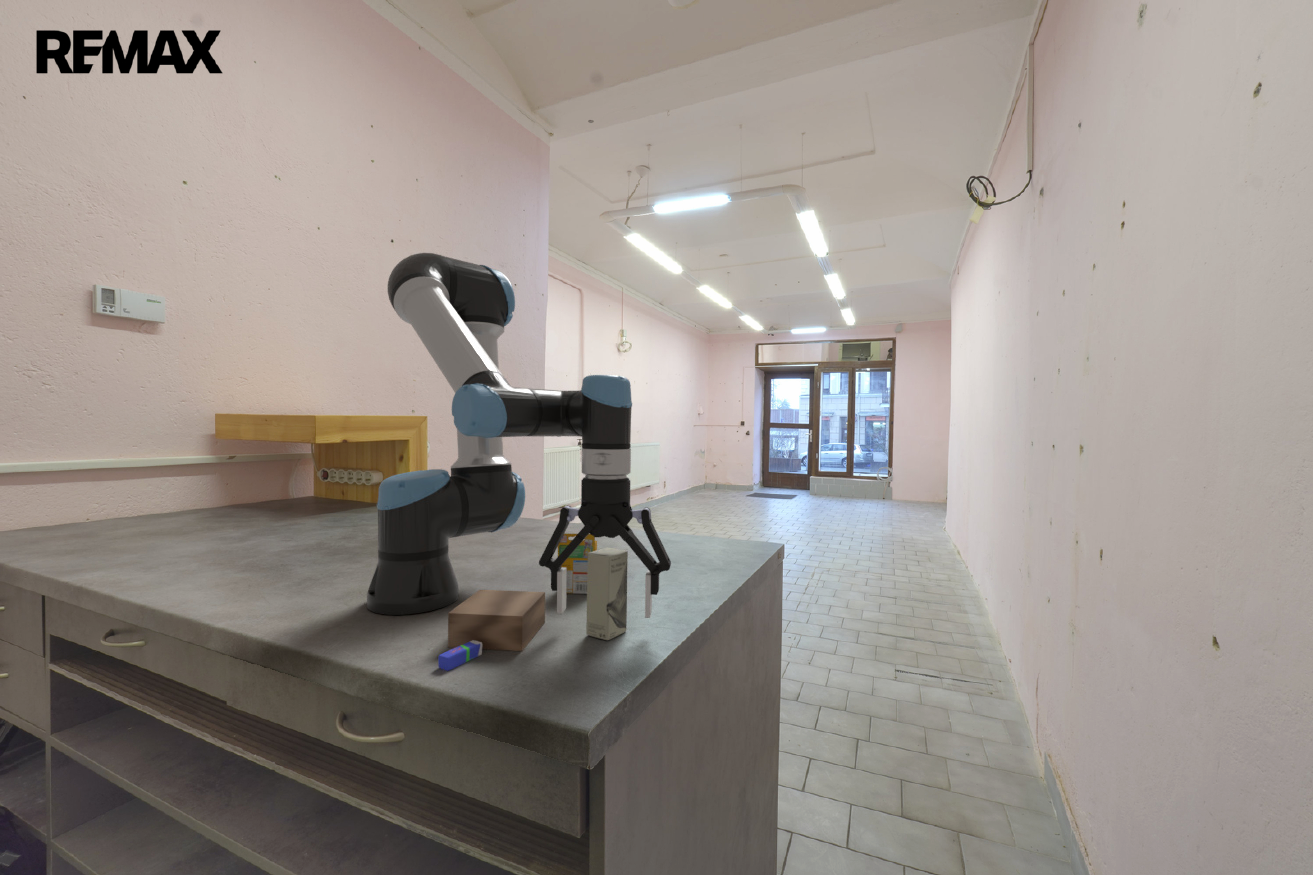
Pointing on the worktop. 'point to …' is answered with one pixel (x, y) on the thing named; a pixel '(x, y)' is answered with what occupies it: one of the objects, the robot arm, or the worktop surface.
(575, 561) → the crayon box
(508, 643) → the block
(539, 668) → the worktop surface
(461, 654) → the eraser
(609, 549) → the box
